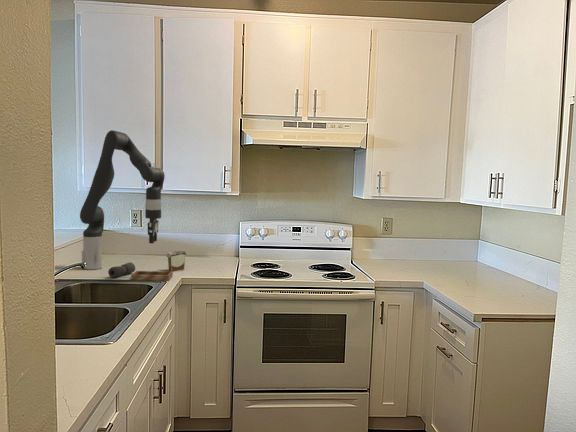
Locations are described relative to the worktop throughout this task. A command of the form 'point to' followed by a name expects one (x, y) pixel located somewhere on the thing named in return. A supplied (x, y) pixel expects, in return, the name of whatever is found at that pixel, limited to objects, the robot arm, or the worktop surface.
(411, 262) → the worktop surface
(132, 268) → the flashlight
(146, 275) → the open wooden frame
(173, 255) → the food container
